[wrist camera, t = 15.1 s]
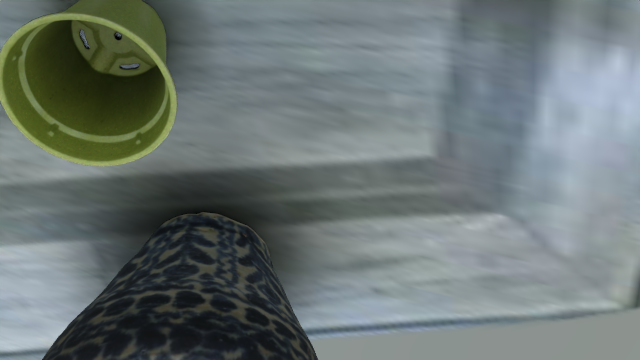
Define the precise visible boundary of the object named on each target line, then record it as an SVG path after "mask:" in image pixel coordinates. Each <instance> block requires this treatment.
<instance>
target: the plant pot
mask: <svg viewBox="0 0 640 360" xmlns="http://www.w3.org/2000/svg"><path fill="white" fill-rule="evenodd" d="M80 30H83V31H84V33H85V36H86V40H87V42H88V45H89V46H90V49H88V48H85V46H84V44H83V42H82V40H81V38H80V35H79V31H80ZM117 32H118V33H120V34H121V35H122V39H121V40H117V39H115V36H114V34H115V33H117ZM134 63H139V64H140V66H139V67H138V68H136V69H129V70H126V69H122V68H120V65H131V64H134ZM0 101H1V103H2V105H3V107H4V109H5V111H6V113H7V115H8V117H9V118H10V119H11V121H12V122H13V123H14V124H15V126H16V127H17V128H18V129H19V130H20V131H21V133H22V134H23V135H24V136H26V137H27V138H28V139H29V140H30V141H31V142H33V143H34V144H36V145H37V146H39V147H40V148H42V149H44V150H45V151H47V152H48V153H50V154H52V155H54V156H57V157H59V158H62V159H64V160H67V161H70V162H73V163H78V164H82V165H89V166H114V165H121V164H125V163H129V162H132V161H135V160H138V159H140V158H142V157H144V156H145V155H147V154H149V153H150V152H152V151H153V150H155V149H156V148H157V147H158V146H159V145H160V144H161V143H162V142H163V141H164V140H165V138H166V137H167V136H168V134H169V132H170V131H171V129H172V126H173V124H174V121H175V117H176V112H177V93H176V88H175V84H174V81H173V78H172V76H171V74H170V71H169V70H168V68H167V66H166V33H165V29H164V26H163V24H162V21H161V19H160V18H159V16H158V14H157V13H156V12H155V10H154V9H153V8H152V7H151V6H149V5H148V4H146V3H145V2H143V1H142V0H80V1H78V2H77V3H76V4H74V5H73V6H71V7H70V8H68V9H67V10H66V11H64V12H59V13H53V14H49V15H45V16H42V17H39V18H36V19H34V20H32V21H30V22H28V23H27V24H25V25H23V26H22V27H21V28H19V29H18V30H17V31H16V32H15V33H14V34H12V36H11V37H10V38H9V39H8V40H7V41H6V43H5V44H4V46H3V48H2V50H1V52H0Z"/></svg>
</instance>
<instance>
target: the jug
mask: <svg viewBox="0 0 640 360" xmlns="http://www.w3.org/2000/svg"><path fill="white" fill-rule="evenodd" d="M269 254H270V251H269V249H268V248H267V246H266V244H265V242H264V241H263V240H262V239H261V238H260V237H259V236H258V235H257V234H256V233H255V232H254V231H253V230H252V229H251V228H250V227H249V226H247V225H244V224H241V223H239V222H236V221H234V220H232V219H229V218H227V217H224V216H222V215H219V214H214V213H206V212H201V213H199V214H185V215H181V216H177V217H175V218H173V219H170V220H168V221H166V222H165V223H164V224H162V225H161V226H160V227H159V228H158V229H157V230H156V231H155V233H154V234H153V235H152V236H151V238H150V239H149V240H148V241H147V242H146V244H145V245H144V247H143V248H142V249H141V250H140V251H139V253H138V254H137V255H136V256H134V257H133V258H132V259H131V260H130V261H129V262H128V263H127V264H126V265H125V266H124V267H123V268H122V269H121V271H120V272H119V273H118V274H117V275H116V277H115V278H114V279H113V280H112V281H111V283H110V284H109V285H108V286H107V288H106V289H105V290H104V291H103V292H102V293H101V294H100V295H99V296H98V297H97V298H96V299H95V300H94V301H93V302H92V303H91V304H90V305H89V306H87V307H86V308H85V309H84V310H83V311H82V312H81V313H80V314H79V315H78V316H77V317H76V318H75V319H74V320H73V321H72V322H71V323H70V324H69V325H68V326H67V328H66V329H65V330H64V331H63V332H62V334H61V335H60V336H59V337H58V338H57V339H56V341H55V342H54V343H53V345H52V346H51V348H50V349H49V350H48V352H47V353H46V355H45V356H44V358H43V359H42V360H318V358H317V356H316V353H315V351H314V348H313V346H312V344H311V342H310V341H309V339H308V337H307V335H306V334H305V332H304V330H303V329H302V327H301V325H300V323H299V321H298V319H297V318H296V316H295V314H294V312H293V310H292V307H291V305H290V303H289V301H288V298H287V296H286V294H285V292H284V290H283V287H282V285H281V283H280V281H279V279H278V277H277V275H276V274H275V272H274V269H273V266H272V262H271V260H270V255H269Z"/></svg>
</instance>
